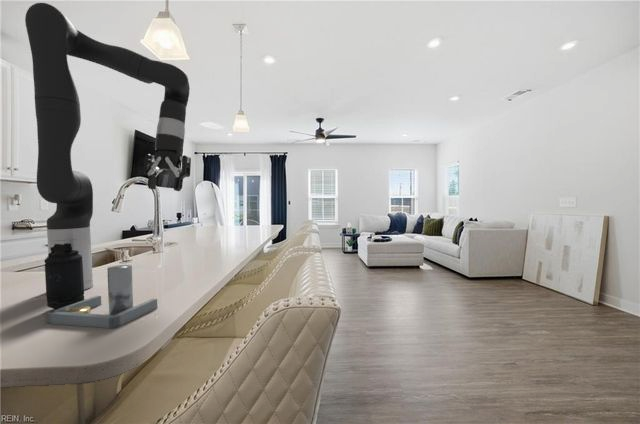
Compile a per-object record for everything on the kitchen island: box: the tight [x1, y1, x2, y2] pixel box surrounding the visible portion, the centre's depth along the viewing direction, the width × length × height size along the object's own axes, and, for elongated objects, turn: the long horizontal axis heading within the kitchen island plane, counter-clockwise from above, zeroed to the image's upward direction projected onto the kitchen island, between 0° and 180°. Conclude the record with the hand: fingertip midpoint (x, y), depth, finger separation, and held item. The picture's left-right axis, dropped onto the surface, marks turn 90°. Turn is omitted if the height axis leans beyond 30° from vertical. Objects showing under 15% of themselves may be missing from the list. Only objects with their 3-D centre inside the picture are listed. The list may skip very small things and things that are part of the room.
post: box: [106, 264, 134, 315], centre depth 65 cm, size 4×4×10 cm
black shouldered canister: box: [44, 243, 85, 310], centre depth 68 cm, size 7×7×15 cm
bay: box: [44, 295, 158, 329], centre depth 64 cm, size 16×11×2 cm
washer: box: [67, 306, 92, 314], centre depth 63 cm, size 4×4×2 cm
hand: (164, 189), depth 89 cm, fingers open, 8 cm apart
